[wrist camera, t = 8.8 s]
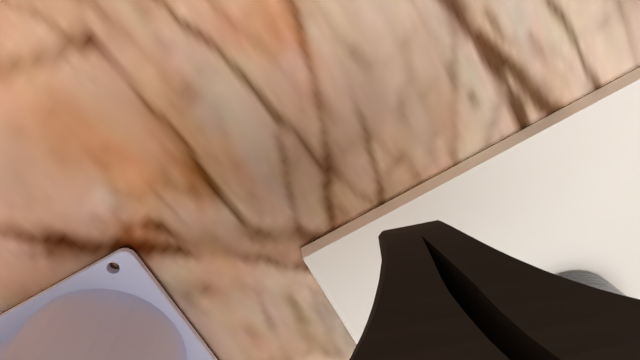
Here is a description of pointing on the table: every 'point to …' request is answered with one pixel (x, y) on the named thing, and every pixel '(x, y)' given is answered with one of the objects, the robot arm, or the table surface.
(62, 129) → the table surface
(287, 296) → the table surface
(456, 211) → the post base
